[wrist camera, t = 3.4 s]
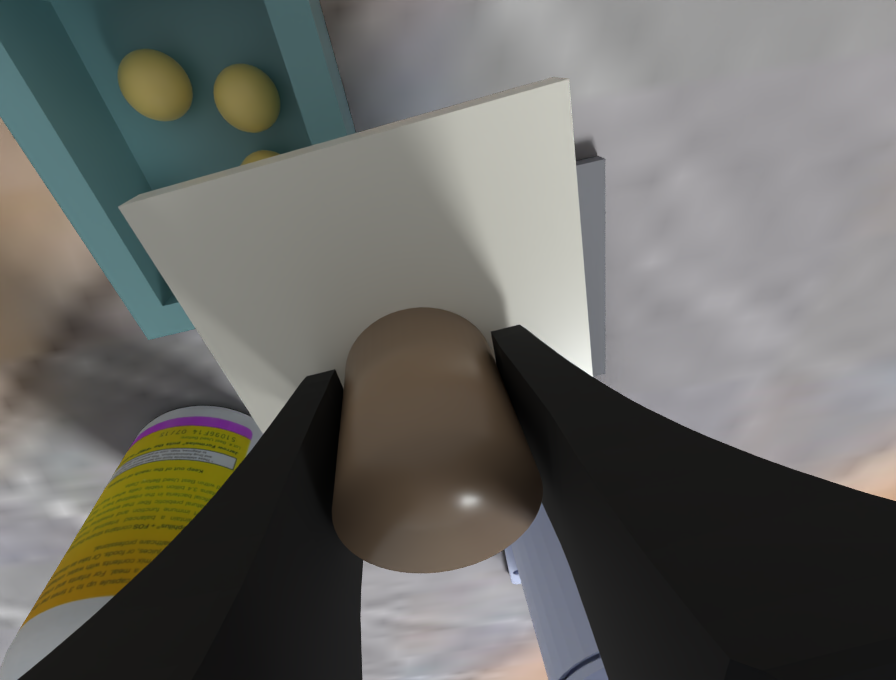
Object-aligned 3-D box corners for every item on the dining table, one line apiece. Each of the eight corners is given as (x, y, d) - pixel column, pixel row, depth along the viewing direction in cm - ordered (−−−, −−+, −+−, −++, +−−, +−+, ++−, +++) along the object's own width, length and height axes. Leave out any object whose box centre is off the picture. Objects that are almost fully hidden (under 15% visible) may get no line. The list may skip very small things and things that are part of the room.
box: (387, 245, 18) (389, 283, 15) (185, 292, 18) (148, 340, 15) (291, -99, 12) (265, -147, 9) (-1, -34, 12) (-118, -62, 9)
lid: (576, 426, 14) (672, 603, 9) (337, 492, 14) (320, 698, 10) (536, 75, 9) (706, 93, 4) (161, 181, 9) (-60, 308, 4)
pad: (599, 366, 23) (605, 373, 22) (442, 404, 22) (443, 412, 22) (598, 155, 17) (605, 159, 17) (389, 204, 17) (390, 209, 16)
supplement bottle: (104, 434, 21) (-191, 849, 10) (230, 377, 20) (63, 755, 9) (203, 515, 24) (66, 885, 13) (313, 469, 24) (263, 819, 13)
